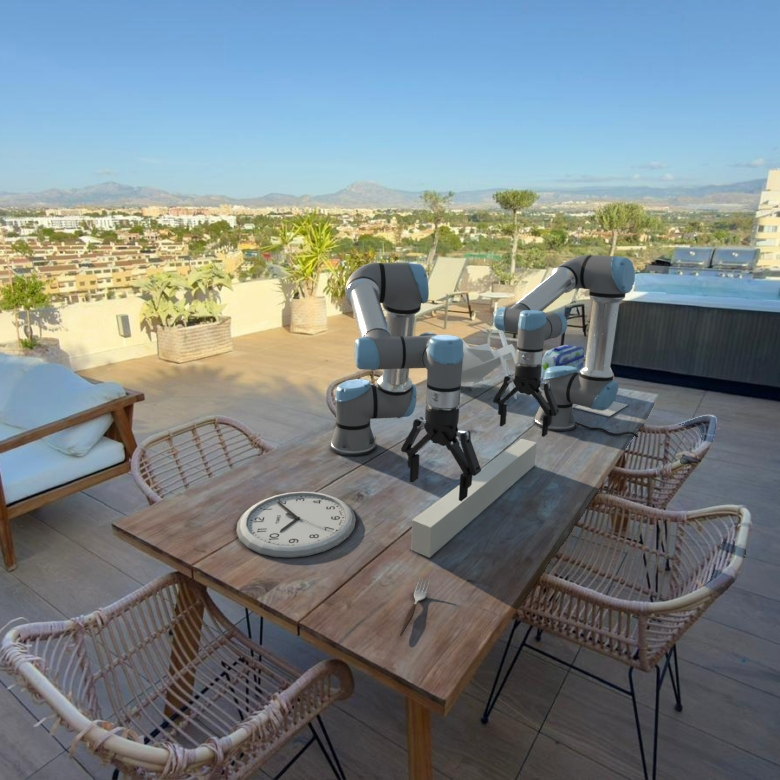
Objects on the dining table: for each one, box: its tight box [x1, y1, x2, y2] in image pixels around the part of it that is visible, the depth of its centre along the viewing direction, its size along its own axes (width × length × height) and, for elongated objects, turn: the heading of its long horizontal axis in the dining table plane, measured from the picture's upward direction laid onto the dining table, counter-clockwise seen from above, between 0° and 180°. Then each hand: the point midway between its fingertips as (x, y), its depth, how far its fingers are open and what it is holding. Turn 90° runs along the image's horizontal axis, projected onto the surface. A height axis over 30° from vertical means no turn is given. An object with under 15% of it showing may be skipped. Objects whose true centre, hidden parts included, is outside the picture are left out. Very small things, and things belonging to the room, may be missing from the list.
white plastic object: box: [461, 310, 530, 400], centre depth 245 cm, size 37×45×31 cm
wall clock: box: [236, 491, 357, 558], centre depth 134 cm, size 30×2×30 cm
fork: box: [399, 577, 431, 637], centre depth 104 cm, size 3×16×2 cm, turn 160°
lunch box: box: [539, 344, 585, 391], centre depth 246 cm, size 26×11×21 cm, turn 135°
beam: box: [410, 438, 538, 559], centre depth 145 cm, size 63×5×8 cm, turn 143°
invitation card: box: [573, 400, 629, 418], centre depth 226 cm, size 21×1×15 cm
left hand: (437, 489), depth 124 cm, fingers open, 13 cm apart
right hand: (523, 430), depth 161 cm, fingers open, 13 cm apart
